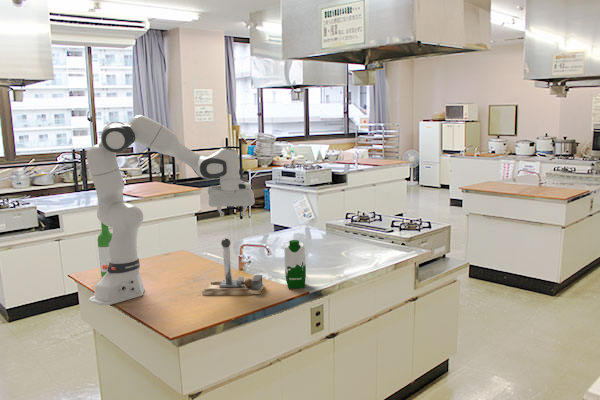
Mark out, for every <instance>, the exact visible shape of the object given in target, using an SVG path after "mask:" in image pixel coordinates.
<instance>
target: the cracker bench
mask: <svg viewBox="0 0 600 400" xmlns="http://www.w3.org/2000/svg"><path fill="white" fill-rule="evenodd" d="M222 282H223V280H222V281H210V283H209V284H208V285H206V287H205V288H204V289H203V290H202V292H201V293H202V296H241V295H244V296H246V295H247V296H250V295H249V294H260V295H261V293H262V292H263V290H262V289H264V288H265V283H263V275H262V274H254V276H253V278H252V279H251V278H246V279H244V286H243V287H242V288H220V287H219V285H220V284H221V283H222ZM261 291H262V292H261Z"/></svg>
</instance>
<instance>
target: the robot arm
mask: <svg viewBox="0 0 600 400" xmlns="http://www.w3.org/2000/svg"><path fill="white" fill-rule="evenodd" d="M134 143H139V144H141V145H144V146H145V147H147V148H148V149H150V150H152V151H153V152H157V153H159V154H162V155H165V156H171V157H174V158H175V159H177V160H179V161H180V162H181V163H182V162H183V163H184V164H186V165H187V166H189V167H190V168H191V169H192V170H193V171H194V173H195V174H196V176H198V177H200V178H202V179H207V180H214V179H217V178H219V185H217V184H216V185H210V186H209V187H208V189H207V194H208V206H209V207H212V208H213V207H216V210H217V212H218V213H219V216H220V217H224V216H225V212H224V211H222V207H242V209H243V210H242V211H240V216H241V217H244V216H246V210H247V208H248V207H251V206H254V205H255V203H256V202H255V194H254V190H253V189H252V188H251V187H252V183H251V182H247V181H244V180H241V175H240V168H241V167H240V158H239V154H238V152H237V150H235V149H234V148H226V147H222V148H219V150H217V151H216V152H214V153H213V154H210V155H204V154H203V155H202V154H198V153H196V152H195V151H193V150H191V149H190V148H188V147H186V146H185V145H183V143H181V142H180V140H179V139H178V137H177V135H176V133H174V132H173V131H172V130H170V129H169V128H168V127H167V126H165V125H164V124H161V123H160V122H158V121H157V120H154V119H152V118H150V117H148V116H145V115H142V114H139V115H135V116H133V117H132V118H131V119H130V120H129V122H128V123H127V124H125V123H123V122H120V121H113V122H110V123H108V124H107V125H105V127H104V128H103V129H102V132H101V136H100V142H99V143H98V144H93V145H92V146H90V147H89V148H88V149H87V150H86V161H87V165H88V166H87V167H88V170H89V174H90V176H91V179H92V183H93V185H94V188H95V191H96V196H97V204H98V209H97V211H96V216H97V219H98V221H99V222H100V223H101V222H102V223H103V224H105V225H106V226H108V228H112V232H111V233H112V239H111V241H110V242H109V254H110V263H109V266H108V265H105V264H103V265H102V269H105V270H107V269H108V270H107V271H108V272H107V273H106V274H105V275H104V276H103V278H102V277H101V279H100V280H99V281H97V283H96V284H95V285H94V295H92V296H90V297H89V302H90V303H92V304H94V305H99V306H111V305H115V304H118V303H121V302H124V301H128V300H131V299H135V298H139V297H142V296H144V292H145V291H146V289H145V286H144V284H143V280H142V277H141V271H140V267H141V265H140V259H139V257H138V245H137V244H138V243H137V240H138V239H137V238H138V232H139V228H140V226H141V225H142V223H143V220H144V214H143V211H142V210H141V209H140V208H139V207H138V206H136V205H134V204H133V203H128V202H125V200H124V191H123V190H124V189H125V182H124V180H123V176H122V173H121V170H120V167H119V165H118V161H117V153H122V152H124V151H126V150H127V149H128V148H129V147H130V146H132V145H133V144H134Z"/></svg>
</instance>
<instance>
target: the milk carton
mask: <svg viewBox="0 0 600 400" xmlns="http://www.w3.org/2000/svg"><path fill="white" fill-rule="evenodd" d="M283 251H284V274H285V281H286V286H287V289H288V288H294V290H295V289H305V287H306V278H307V277H306V275H307V272H306V271H307V268H306V267H307V266H306V254H305V253H306V252H305V251H306V250H305V245H304V243H303V242H300V240H298V239H291V240H289V241H288V242H287V243H286V242H285V243H284V250H283Z"/></svg>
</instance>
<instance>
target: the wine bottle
mask: <svg viewBox="0 0 600 400" xmlns="http://www.w3.org/2000/svg"><path fill="white" fill-rule="evenodd" d="M100 224H101V225H100V226H101V232H100V233H99V235H98V236H97V248H98V257H99V258H98V259H99V260H98V261H99V267H100V276H101V279H102V278H103V276H104V275H105V274H106V273H107V272H108V271H107V270H108V269H107V270H105V269H102V265H103V264H105V265H108V266H109V263H110V254H109V242H110V241H111V239H112V233H113V232H111V231H110V229H109V226H106V225H105V224H103V223H102V222H101V221H100Z"/></svg>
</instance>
